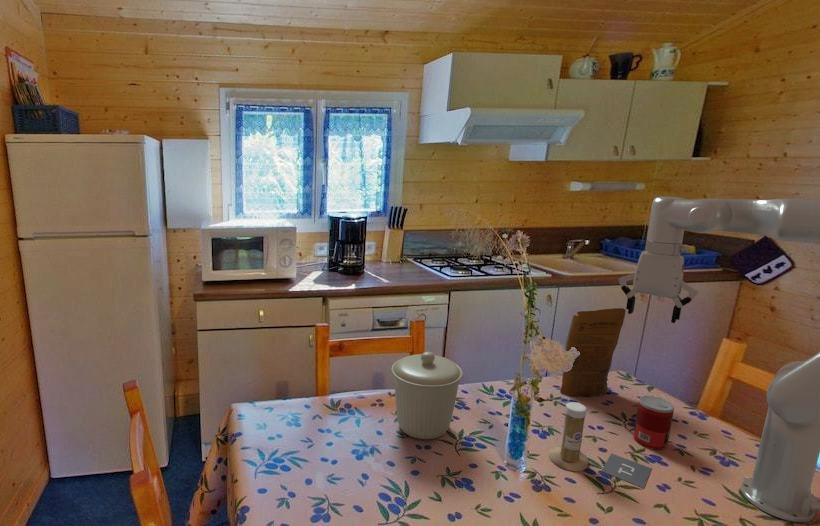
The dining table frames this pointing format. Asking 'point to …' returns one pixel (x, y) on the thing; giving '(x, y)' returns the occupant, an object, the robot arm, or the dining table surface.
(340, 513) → the dining table surface
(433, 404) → the canister
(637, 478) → the tile
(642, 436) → the canned food
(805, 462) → the robot arm
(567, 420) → the sprinkles bottle
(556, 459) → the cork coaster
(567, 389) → the pancake mix bag
